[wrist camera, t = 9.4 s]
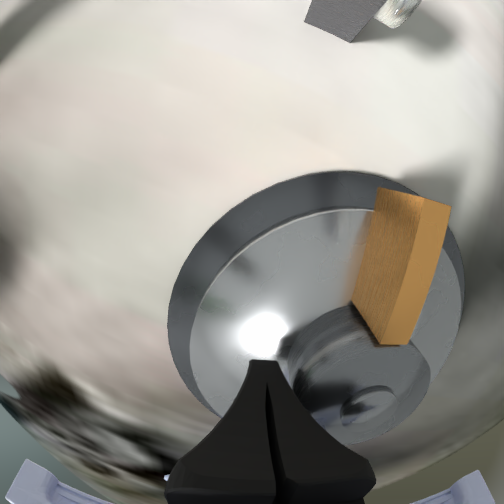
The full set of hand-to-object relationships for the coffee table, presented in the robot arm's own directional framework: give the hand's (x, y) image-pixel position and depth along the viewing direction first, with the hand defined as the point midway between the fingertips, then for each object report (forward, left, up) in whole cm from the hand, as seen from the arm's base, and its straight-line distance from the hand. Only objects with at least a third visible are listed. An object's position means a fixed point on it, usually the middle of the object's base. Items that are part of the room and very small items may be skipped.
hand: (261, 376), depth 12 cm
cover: (-3, -3, -1) cm, 4 cm away
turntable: (-3, -3, -3) cm, 5 cm away
